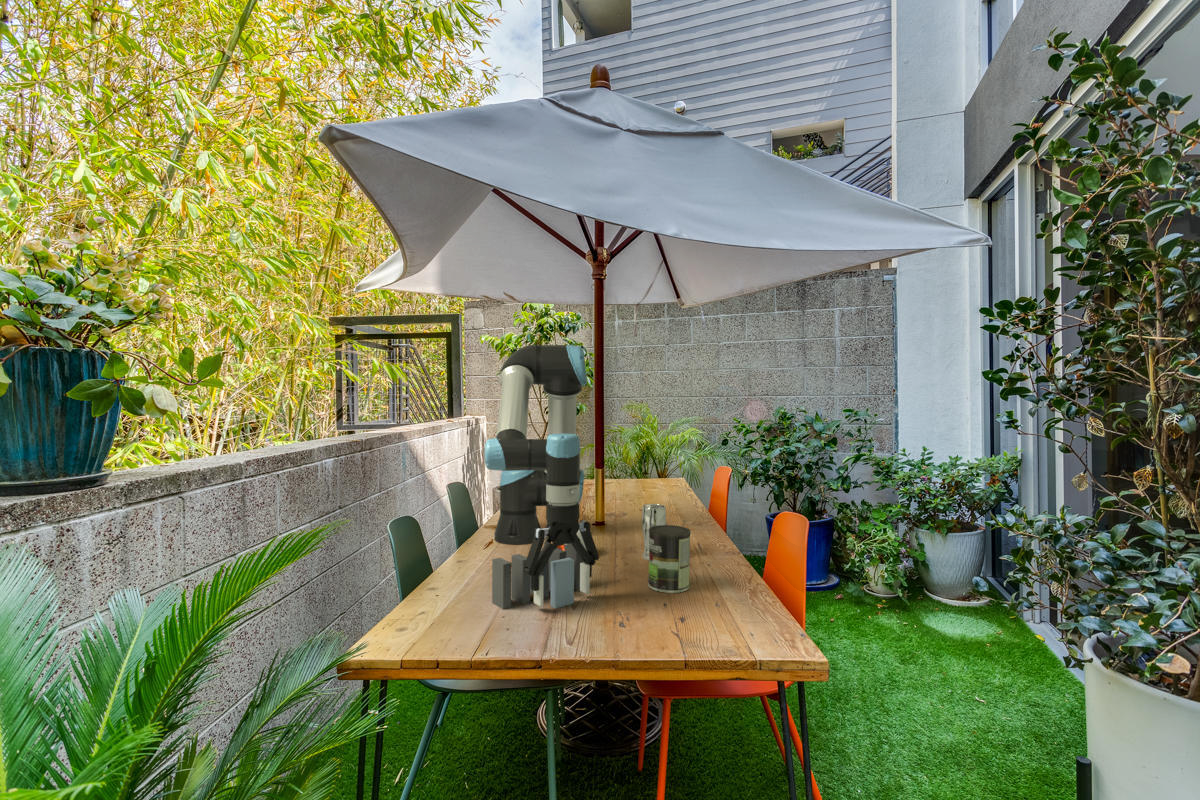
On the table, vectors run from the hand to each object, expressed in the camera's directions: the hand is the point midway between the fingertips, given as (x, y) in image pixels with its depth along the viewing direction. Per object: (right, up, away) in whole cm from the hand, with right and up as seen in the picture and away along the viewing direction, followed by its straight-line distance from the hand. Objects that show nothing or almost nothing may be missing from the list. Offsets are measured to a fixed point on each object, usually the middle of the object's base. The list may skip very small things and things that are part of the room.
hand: (562, 598), depth 134 cm
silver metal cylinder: (+24, -1, +37) cm, 44 cm away
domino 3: (-6, -1, +6) cm, 8 cm away
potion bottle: (0, -1, +36) cm, 36 cm away
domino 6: (+2, -1, +12) cm, 12 cm away
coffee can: (+26, -2, +13) cm, 29 cm away
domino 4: (-2, -1, +9) cm, 9 cm away
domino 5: (0, -1, 0) cm, 1 cm away
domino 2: (-10, -1, +3) cm, 10 cm away
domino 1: (-14, -1, -1) cm, 14 cm away
